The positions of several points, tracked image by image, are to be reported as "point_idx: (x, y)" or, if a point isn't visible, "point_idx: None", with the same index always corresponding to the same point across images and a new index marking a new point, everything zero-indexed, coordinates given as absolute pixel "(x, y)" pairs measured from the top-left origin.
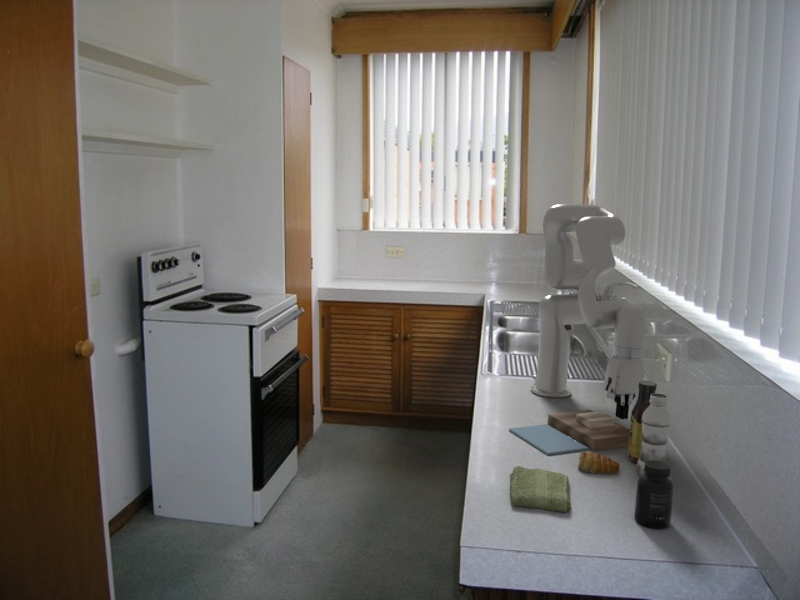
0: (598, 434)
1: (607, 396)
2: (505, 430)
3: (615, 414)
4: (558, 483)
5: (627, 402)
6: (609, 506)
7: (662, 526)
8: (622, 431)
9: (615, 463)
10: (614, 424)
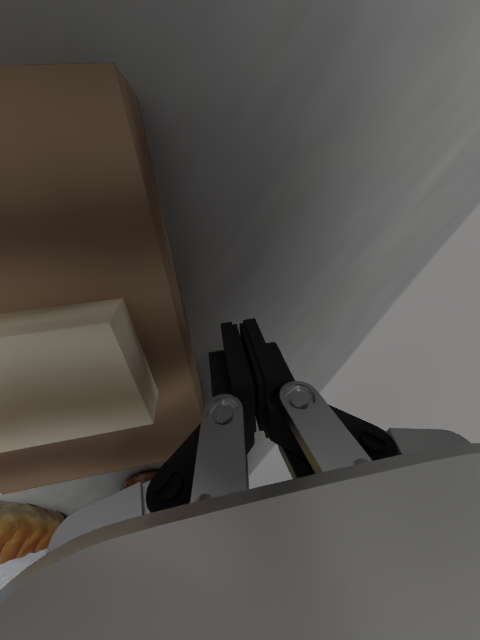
0: (34, 464)
1: (62, 542)
2: None
3: (221, 326)
4: None
5: (278, 445)
6: (4, 584)
7: None
8: (159, 439)
9: (46, 547)
10: (156, 396)
